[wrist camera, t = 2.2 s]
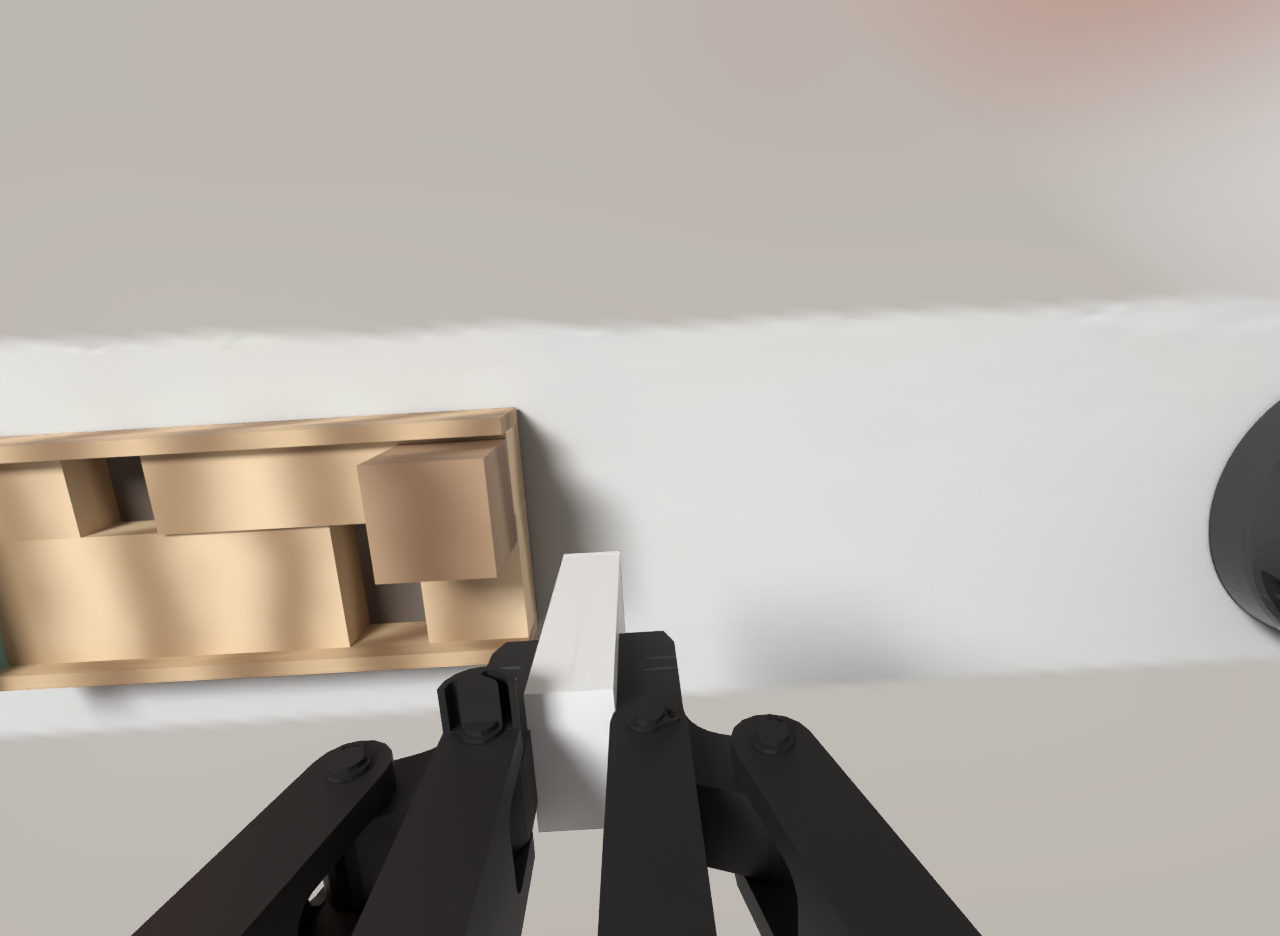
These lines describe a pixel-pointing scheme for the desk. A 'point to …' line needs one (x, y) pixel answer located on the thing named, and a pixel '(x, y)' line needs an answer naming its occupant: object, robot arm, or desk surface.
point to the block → (438, 511)
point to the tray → (232, 556)
